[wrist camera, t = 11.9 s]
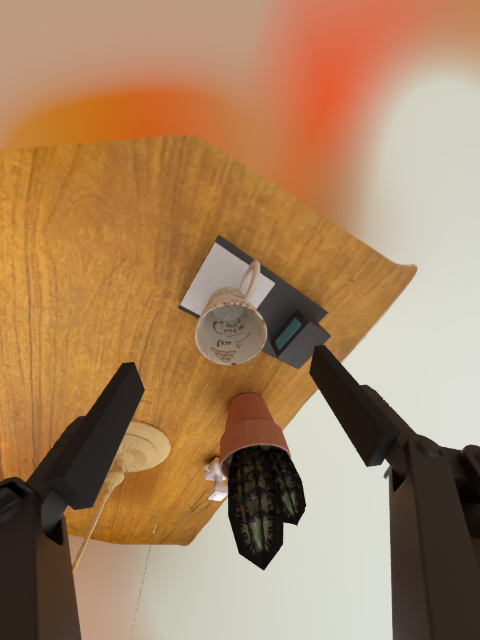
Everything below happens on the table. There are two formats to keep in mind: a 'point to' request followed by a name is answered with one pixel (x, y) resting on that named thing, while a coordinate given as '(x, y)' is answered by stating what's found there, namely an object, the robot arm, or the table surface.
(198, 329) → the mug
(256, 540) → the potted plant
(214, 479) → the stamp
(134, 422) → the desk lamp
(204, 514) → the table surface
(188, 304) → the scale
